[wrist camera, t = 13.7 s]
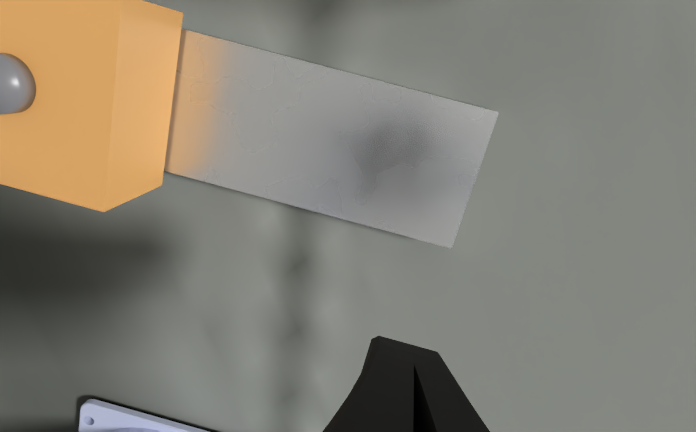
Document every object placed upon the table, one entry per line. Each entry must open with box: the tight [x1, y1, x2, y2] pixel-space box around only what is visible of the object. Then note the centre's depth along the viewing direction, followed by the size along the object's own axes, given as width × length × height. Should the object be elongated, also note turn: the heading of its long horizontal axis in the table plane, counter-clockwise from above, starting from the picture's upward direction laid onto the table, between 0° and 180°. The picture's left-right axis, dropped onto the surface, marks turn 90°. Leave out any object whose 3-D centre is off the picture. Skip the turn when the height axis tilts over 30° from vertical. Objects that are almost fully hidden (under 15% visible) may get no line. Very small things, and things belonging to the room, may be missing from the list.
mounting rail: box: [164, 28, 499, 249], centre depth 16 cm, size 6×29×4 cm, turn 76°
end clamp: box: [0, 0, 183, 212], centre depth 14 cm, size 6×8×4 cm
